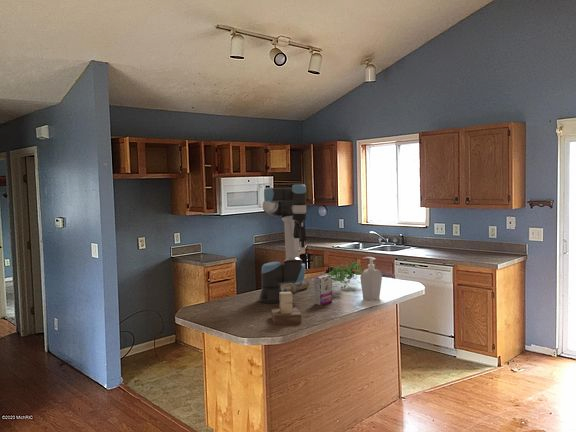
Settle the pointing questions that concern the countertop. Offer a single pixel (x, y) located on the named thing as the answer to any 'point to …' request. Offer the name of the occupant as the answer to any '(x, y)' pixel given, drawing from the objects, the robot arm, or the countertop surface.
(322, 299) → the candy bar box
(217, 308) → the countertop surface
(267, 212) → the robot arm
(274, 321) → the walnut block
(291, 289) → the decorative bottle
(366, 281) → the soap bottle
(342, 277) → the plant cuttings
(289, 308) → the ash block
